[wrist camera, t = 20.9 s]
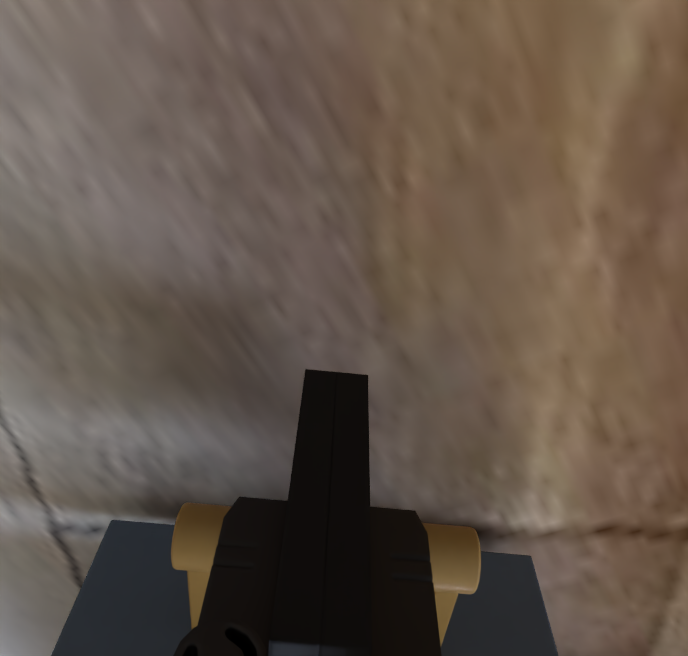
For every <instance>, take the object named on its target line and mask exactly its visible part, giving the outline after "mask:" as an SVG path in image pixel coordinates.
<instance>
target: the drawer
mask: <svg viewBox="0 0 688 656" xmlns="http://www.w3.org/2000/svg"><path fill="white" fill-rule="evenodd" d="M231 507H232V506H223V505H212V504H200V503H189V502H187V503H184V504H183V505H182V507H181V509H180V511H179V513H178V516H177V519H176V522H175V525H167V524H155V523H144V522H132V521H120V520H111V522H110V524H109V526H108V528H107V531H106V533H105V535H104V537H103V540H102V542H101V544H100V547H99V549H98V551H97V553H96V556H95V558H94V560H93V562H92V565H91V567H90V569H89V571H88V574H87V576H86V578H85V580H84V583H83V585H82V587H81V589H80V592H79V594H78V596H77V598H76V601H75V603H74V605H73V607H72V610H71V612H70V614H69V616H68V619H67V621H66V623H65V625H64V628H63V630H62V632H61V634H60V637H59V639H58V641H57V643H56V646H55V648H54V650H53V652H52V655H51V656H173V655H174V653H175V651H176V649H177V647H178V645H179V643H180V641H181V640H182V639H183V638H184V637H185V636H186V635H187V634H188V633H189V632H190V631H191V630H192V629H193V628H194V627H197V625H198V621H199V617H200V613H201V608H202V604H203V600H204V596H205V592H206V588H207V584H208V580H209V576H210V572H211V567H212V565H213V559H214V555H215V551H216V547H217V545H218V539H219V535H220V531H221V527H222V522H223V518H224V516H225V515H226V513H227V512H228V511H229V510H230V508H231ZM422 524H423V526H424V527H425V529H426V531H427V533H428V541H429V549H430V562H431V567H432V576H433V579H432V582H433V584H434V593H435V602H436V611H437V619H438V628H439V637H440V646H441V654H442V656H558V652H557V649H556V645H555V642H554V638H553V634H552V631H551V627H550V623H549V620H548V616H547V612H546V609H545V605H544V601H543V598H542V594H541V591H540V587H539V583H538V580H537V576H536V572H535V569H534V565H533V561H532V558H531V556H528V555H517V554H505V553H493V552H482V551H481V550H480V543H479V538H478V535H477V532H476V530H475V529H474V528H472V527H465V526H453V525H442V524H430V523H422Z"/></svg>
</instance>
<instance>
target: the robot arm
mask: <svg viewBox="0 0 688 656" xmlns="http://www.w3.org/2000/svg"><path fill="white" fill-rule="evenodd" d="M432 579H433V576H432V567H431V562H430V549H429V541H428V533H427V531H426V529H425V527H424V526H423V524H422V522H421V520H420V519H419V517H418V515H417V513H416V512H415V511H413V510H401V509H390V508H379V507H370V477H369V413H368V375H361V374H351V373H340V372H329V371H319V370H308V369H305V377H304V384H303V392H302V399H301V406H300V414H299V421H298V429H297V436H296V443H295V451H294V458H293V466H292V473H291V481H290V488H289V495H288V501H282V500H271V499H259V498H248V497H239V498H238V499H237V501H236V502H235V503H234V504H233V506H232V507H231V508H230V510H229V511H228V512H227V513H226V515H225V516H224V518H223V522H222V527H221V531H220V535H219V539H218V545H217V547H216V551H215V555H214V559H213V565H212V567H211V572H210V576H209V580H208V584H207V588H206V592H205V596H204V600H203V604H202V608H201V613H200V617H199V621H198V625H197V627H194V628H193V629H192V630H191V631H190V632H189V633H188V634H187V635H186V636H185V637H184V638H183V639H182V640H181V641H180V643H179V645H178V647H177V649H176V651H175V653H174V655H173V656H442V654H441V646H440V637H439V628H438V619H437V611H436V602H435V593H434V584H433V582H432Z"/></svg>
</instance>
